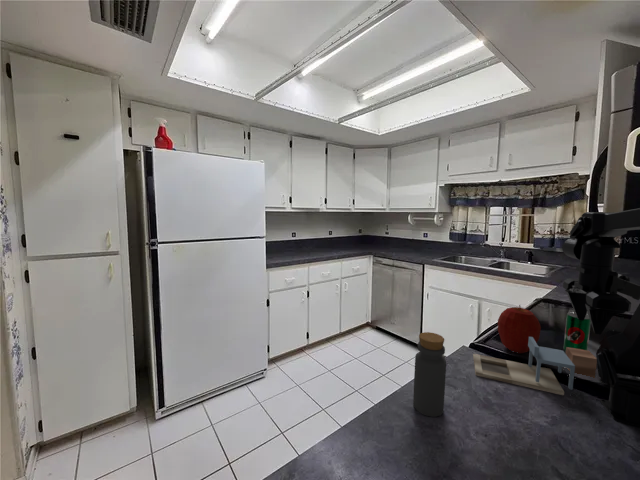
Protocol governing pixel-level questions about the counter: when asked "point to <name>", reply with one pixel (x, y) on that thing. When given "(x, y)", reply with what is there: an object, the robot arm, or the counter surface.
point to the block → (582, 361)
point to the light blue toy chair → (550, 360)
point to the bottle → (430, 375)
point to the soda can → (576, 331)
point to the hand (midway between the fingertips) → (588, 326)
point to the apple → (518, 328)
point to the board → (516, 373)
